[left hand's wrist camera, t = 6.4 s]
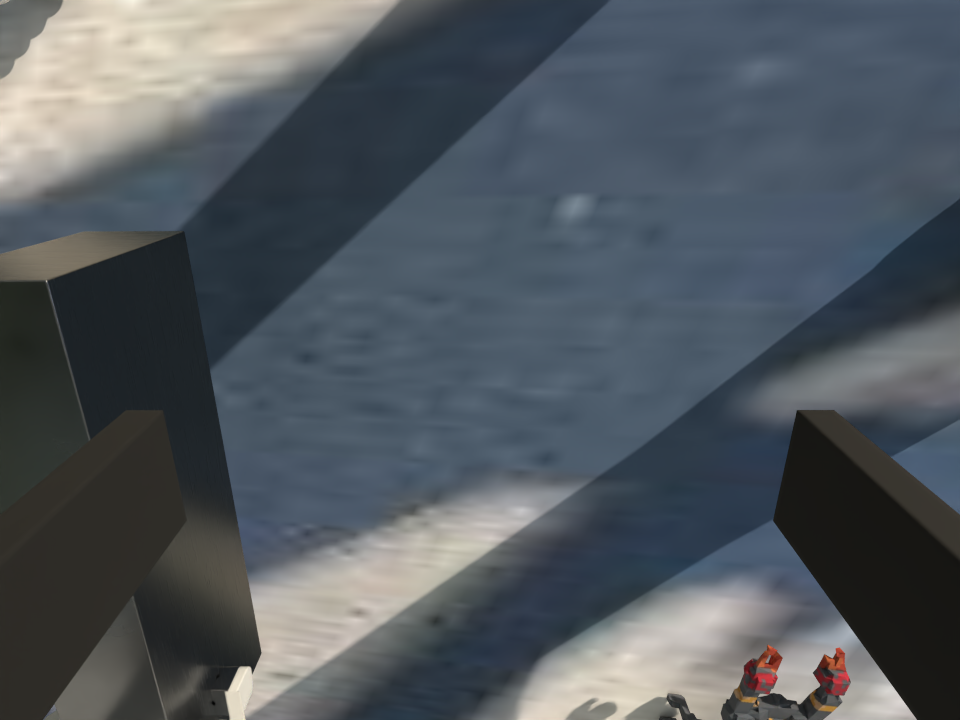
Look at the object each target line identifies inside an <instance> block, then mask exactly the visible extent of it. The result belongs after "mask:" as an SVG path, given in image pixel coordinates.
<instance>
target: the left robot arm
mask: <svg viewBox="0 0 960 720" xmlns="http://www.w3.org/2000/svg"><path fill="white" fill-rule="evenodd" d="M186 521H187V519H186V515H185V510H184V505H183V501H182V496H181V491H180V487H179V482H178V478H177V473H176V468H175V464H174V459H173V454H172V450H171V445H170V441H169V436H168V431H167V427H166V422H165V417H164V413H163V410H126V411H124V412H123V413H122V414H121V415H120V416H118V417H117V418H116V419H115V420H114V421H112V422H111V423H110V424H109V425H108V426H106V427H105V428H104V429H103V430H102V431H100V432H99V433H98V434H97V435H96V436H94V437H93V438H92V439H91V440H90V441H88V442H87V443H86V444H85V445H84V446H82V447H81V448H80V449H79V450H78V451H76V452H75V453H74V454H73V455H72V456H70V457H69V458H68V459H67V460H66V461H64V462H63V463H62V464H61V465H60V466H58V467H57V468H56V469H55V470H54V471H52V472H51V473H50V474H49V475H48V476H46V477H45V478H44V479H43V480H42V481H40V482H39V483H38V484H37V485H36V486H34V487H33V488H32V489H31V490H29V491H28V492H27V493H26V494H25V495H23V496H22V497H21V498H20V499H19V500H17V501H16V502H15V503H14V504H13V505H11V506H10V507H9V508H8V509H7V510H5V511H4V512H3V513H2V514H1V515H0V720H43V719H44V717H45V716H46V715H47V713H48V712H49V711H50V709H51V708H52V706H53V705H54V704H55V702H56V701H57V699H58V698H59V697H60V695H61V694H62V693H63V691H64V690H65V688H66V687H67V686H68V684H69V683H70V681H71V680H72V679H73V677H74V676H75V675H76V673H77V672H78V670H79V669H80V668H81V666H82V665H83V664H84V662H85V661H86V659H87V658H88V657H89V655H90V654H91V652H92V651H93V650H94V648H95V647H96V646H97V644H98V643H99V641H100V640H101V639H102V637H103V636H104V635H105V633H106V632H107V630H108V629H109V628H110V626H111V625H112V623H113V622H114V621H115V619H116V618H117V617H118V615H119V614H120V612H121V611H122V610H123V608H124V607H125V606H126V604H127V603H128V601H129V600H130V599H131V597H132V596H133V594H134V593H135V592H136V590H137V589H138V588H139V586H140V585H141V583H142V582H143V581H144V579H145V578H146V577H147V575H148V574H149V572H150V571H151V570H152V568H153V567H154V565H155V564H156V563H157V561H158V560H159V559H160V557H161V556H162V554H163V553H164V552H165V550H166V549H167V548H168V546H169V545H170V543H171V542H172V541H173V539H174V538H175V536H176V535H177V534H178V532H179V531H180V530H181V528H182V527H183V525H184V524H185V523H186ZM773 521H774V523H775V524H776V525H777V527H778V528H779V530H780V531H781V532H782V534H783V535H784V536H785V538H786V539H787V541H788V542H789V543H790V545H791V546H792V548H793V549H794V550H795V552H796V553H797V554H798V556H799V557H800V559H801V560H802V561H803V563H804V564H805V565H806V567H807V568H808V570H809V571H810V572H811V574H812V575H813V577H814V578H815V579H816V581H817V582H818V583H819V585H820V586H821V588H822V589H823V590H824V592H825V593H826V594H827V596H828V597H829V599H830V600H831V601H832V603H833V604H834V606H835V607H836V608H837V610H838V611H839V612H840V614H841V615H842V617H843V618H844V619H845V621H846V622H847V623H848V625H849V626H850V628H851V629H852V630H853V632H854V633H855V635H856V636H857V637H858V639H859V640H860V641H861V643H862V644H863V646H864V647H865V648H866V650H867V651H868V652H869V654H870V655H871V657H872V658H873V659H874V661H875V662H876V664H877V665H878V666H879V668H880V669H881V670H882V672H883V673H884V675H885V676H886V677H887V679H888V680H889V682H890V683H891V684H892V686H893V687H894V688H895V690H896V691H897V693H898V694H899V695H900V697H901V698H902V699H903V701H904V702H905V704H906V705H907V706H908V708H909V709H910V711H911V712H912V713H913V715H914V716H915V717H916V719H917V720H960V515H959V514H958V513H957V512H956V511H955V510H953V509H952V508H951V507H950V506H949V505H947V504H946V503H945V502H944V501H943V500H941V499H940V498H939V497H938V496H937V495H935V494H934V493H933V492H932V491H931V490H929V489H928V488H927V487H926V486H924V485H923V484H922V483H921V482H920V481H918V480H917V479H916V478H915V477H914V476H912V475H911V474H910V473H909V472H908V471H906V470H905V469H904V468H903V467H902V466H900V465H899V464H898V463H897V462H896V461H894V460H893V459H892V458H891V457H890V456H888V455H887V454H886V453H885V452H884V451H882V450H881V449H880V448H879V447H878V446H876V445H875V444H874V443H873V442H872V441H870V440H869V439H868V438H867V437H866V436H864V435H863V434H862V433H861V432H860V431H858V430H857V429H856V428H855V427H854V426H852V425H851V424H850V423H849V422H848V421H846V420H845V419H844V418H843V417H842V416H840V415H839V414H838V413H837V412H836V411H834V410H797V413H796V417H795V422H794V427H793V431H792V436H791V441H790V445H789V450H788V454H787V459H786V464H785V468H784V473H783V478H782V482H781V487H780V491H779V496H778V501H777V505H776V510H775V515H774V519H773Z"/></svg>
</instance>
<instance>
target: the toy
mask: <svg viewBox="0 0 960 720" xmlns="http://www.w3.org/2000/svg"><path fill="white" fill-rule="evenodd" d="M769 655H771V658H770V660H769V663H765V662H766V660H767V658H768V656H769ZM782 659H783V658H782V657H781V656H780V655H779V653H778V652H777V650H776V649H774V648H772V647H771V646H769V645H767V651H765V652H764V653H763V654H762V655H761V657H760V658H759V659H751V660H750V661H749V662H747V663H746V664H745V666H744V675H743V678H742V680H741V683H740V685H739V687H738V688H737V689H735V690H734V692H733V694H732V696H731V698H730V700H729V699H727V700H726V704H723V707H722V711H721V716H722V719H723V720H823V719H824V718H825V717H827V716H828V715H829V714H830V713H831V712H833V711H834V710H835V709H836V708H837V707H838V706H839V705H840V704H841V703H842V700H841V699H840V697H839V695H845V692H846V691H847V689H848V687H849V685H850V683H851V682H850V679H849V676H848V674H847V672H846V668H845V664H844V661H845V653H844V652H843V651H842V650H841V649H840V648H836V654H835V656H834V657H833V659H832V658H830V657H829V656H827V655H825V654H824V656H823V658H822V660H821V662H820V664H819V665H818V667H817V669H816V670H815V671H814V672H813V674H814V675H815V677H816V679H817V680H818V682H819V683H820V687H819V688H817V689H816V690H814V691H813V692H812V693H811V694H810V695H809V696H808V697H807V698H806V699H805V700H804V701H803V702H802V703H801V704H800V705H799V704H797V702H796V701H792V700H787V699H786V698H784V697H783V696H782V695H781V694H775V693H771V694H769V693H770V691H771V689H773V688H774V685H775V683H776V681H777V678H778V677H777V675H776V672H777V669H778V667H779V665H780V663H781V661H782ZM760 693H762V694H769V695H767V696H763V697H758V696H759V694H760ZM667 700H668V702H669V704H670V705H671V706H672V707H673V708H679V710H680V713H681V716H682V719H683V720H700V719H696V717H695V715H694V714H693V713H690V711H689V709H688V706H687V704H686V701H685V698H684V697H683V696H682V695H677V694H668V695H667ZM659 720H676V718H668V717H660V719H659Z"/></svg>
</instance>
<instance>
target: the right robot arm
mask: <svg viewBox="0 0 960 720" xmlns="http://www.w3.org/2000/svg"><path fill="white" fill-rule="evenodd" d="M253 683H254V681H253V676H252V671H251V667H244V666H224V667H223V668H222V669H221V671H220V672H219V677H218V678H217V679H216V681H215V683H214V685H213V687H212V689H211V695H212V700H213V702H215V704H214V708H215V713H216V715H221V716H229V720H245V715H244V711H245V709H246V706H247V704H248V701H249V699H250V696H251V694H252V691H253ZM45 720H60V718H59V715H58V712H57V711H55V712H54V713H52V714H50V715H49V716H47V717H46V718H45Z"/></svg>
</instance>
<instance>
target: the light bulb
mask: <svg viewBox="0 0 960 720" xmlns="http://www.w3.org/2000/svg"><path fill="white" fill-rule="evenodd" d="M8 1H10V0H0V5H1V4H5V3H7V2H8Z"/></svg>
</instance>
